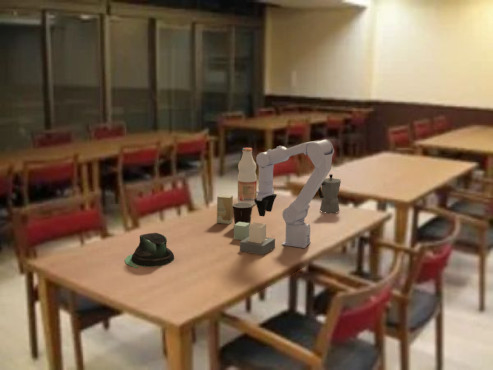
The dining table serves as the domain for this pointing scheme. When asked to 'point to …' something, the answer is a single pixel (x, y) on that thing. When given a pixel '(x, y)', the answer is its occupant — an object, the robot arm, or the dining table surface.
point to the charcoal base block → (257, 246)
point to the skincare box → (224, 209)
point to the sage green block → (241, 230)
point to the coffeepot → (329, 195)
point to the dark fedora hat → (151, 252)
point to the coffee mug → (242, 212)
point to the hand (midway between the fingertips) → (265, 213)
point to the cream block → (257, 232)
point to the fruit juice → (247, 178)
